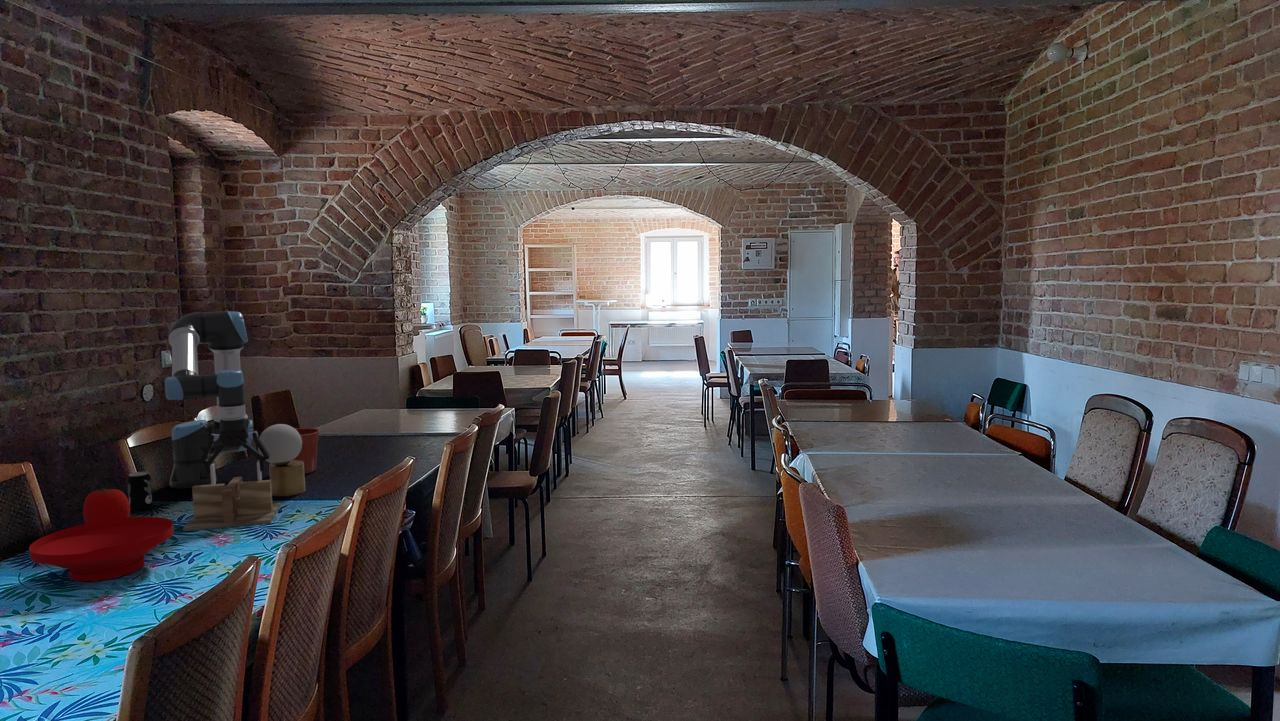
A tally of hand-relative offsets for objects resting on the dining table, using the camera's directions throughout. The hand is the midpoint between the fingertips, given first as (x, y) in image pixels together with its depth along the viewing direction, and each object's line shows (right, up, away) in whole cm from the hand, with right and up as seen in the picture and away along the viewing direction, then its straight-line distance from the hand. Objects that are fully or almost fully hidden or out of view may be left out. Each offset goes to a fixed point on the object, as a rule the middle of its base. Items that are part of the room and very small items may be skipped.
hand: (237, 482), depth 251 cm
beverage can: (-35, -10, +6) cm, 36 cm away
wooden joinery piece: (+2, -10, -6) cm, 12 cm away
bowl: (-7, -15, -52) cm, 54 cm away
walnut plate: (+2, -9, -6) cm, 11 cm away
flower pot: (-4, -5, +55) cm, 56 cm away
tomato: (-28, -12, -20) cm, 37 cm away
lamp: (+5, -8, +22) cm, 24 cm away
